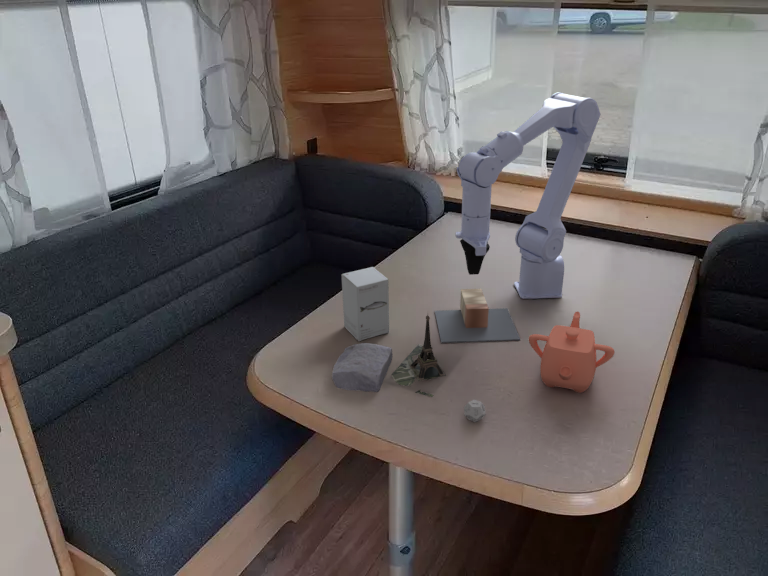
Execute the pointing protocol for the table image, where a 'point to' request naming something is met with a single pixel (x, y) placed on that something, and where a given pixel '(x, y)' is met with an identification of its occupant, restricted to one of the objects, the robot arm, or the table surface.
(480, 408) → the game die
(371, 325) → the supplement box
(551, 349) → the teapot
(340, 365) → the stone block
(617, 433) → the table surface
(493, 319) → the mat
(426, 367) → the eiffel tower figurine
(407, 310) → the table surface
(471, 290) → the tall block
